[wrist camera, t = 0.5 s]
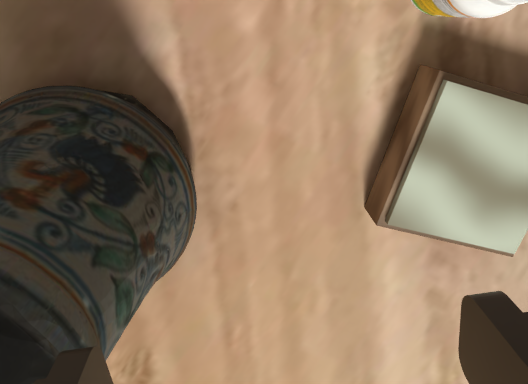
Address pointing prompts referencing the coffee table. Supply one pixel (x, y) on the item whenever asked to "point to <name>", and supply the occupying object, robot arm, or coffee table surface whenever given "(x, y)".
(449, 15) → the supplement bottle
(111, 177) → the painted ceramic vase
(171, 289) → the coffee table surface
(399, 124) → the plinth
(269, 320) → the coffee table surface
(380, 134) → the coffee table surface
